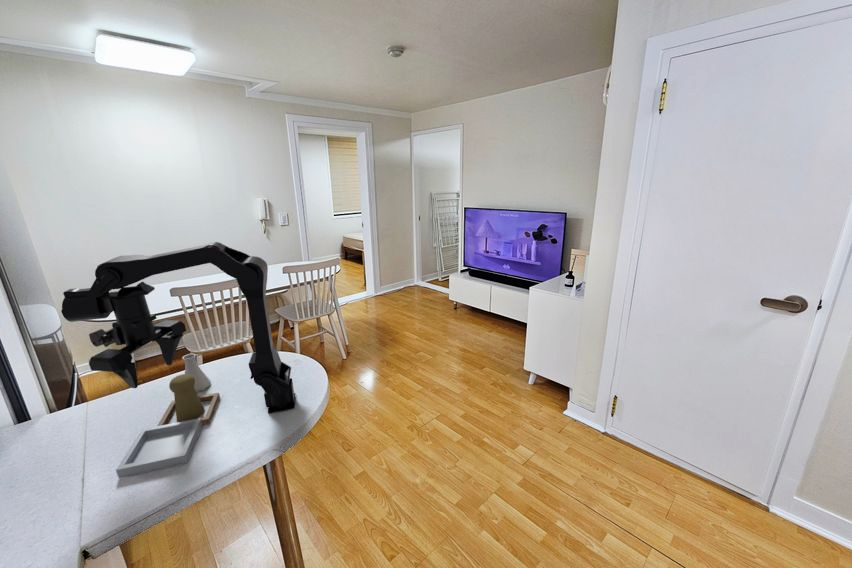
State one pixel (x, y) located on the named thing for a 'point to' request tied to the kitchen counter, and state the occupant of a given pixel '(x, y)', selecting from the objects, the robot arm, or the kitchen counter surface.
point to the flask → (196, 372)
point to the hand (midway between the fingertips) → (153, 375)
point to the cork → (186, 398)
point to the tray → (160, 448)
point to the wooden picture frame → (204, 398)
